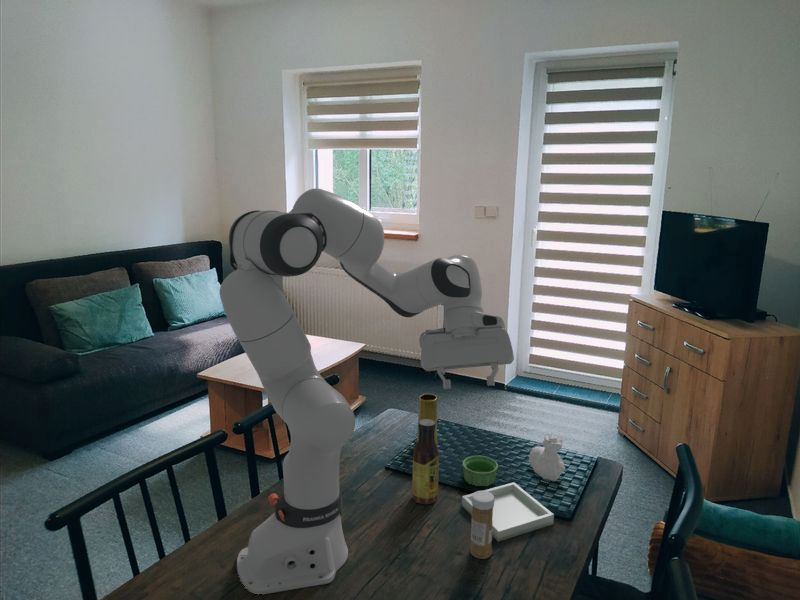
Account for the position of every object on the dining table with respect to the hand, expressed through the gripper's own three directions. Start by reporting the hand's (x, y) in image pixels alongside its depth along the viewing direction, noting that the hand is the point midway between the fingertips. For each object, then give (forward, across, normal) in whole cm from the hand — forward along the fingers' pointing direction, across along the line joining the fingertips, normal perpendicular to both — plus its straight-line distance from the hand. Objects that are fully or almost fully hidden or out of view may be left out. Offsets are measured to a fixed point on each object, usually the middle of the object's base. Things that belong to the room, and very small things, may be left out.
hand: (468, 386), depth 128 cm
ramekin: (+16, -3, +35) cm, 39 cm away
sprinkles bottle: (+33, -1, +11) cm, 35 cm away
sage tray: (+25, +4, +23) cm, 35 cm away
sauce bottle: (+21, -15, +24) cm, 36 cm away
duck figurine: (+15, +14, +42) cm, 47 cm away
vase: (+4, -19, +47) cm, 51 cm away
